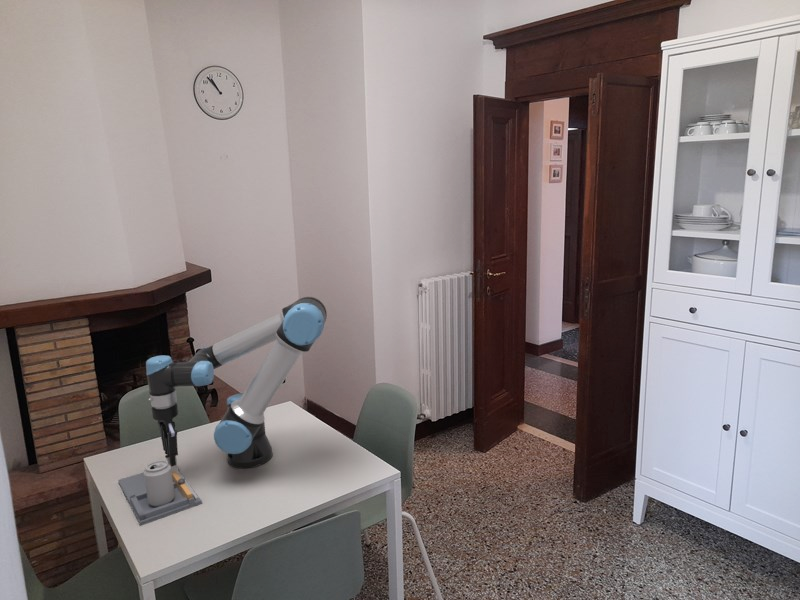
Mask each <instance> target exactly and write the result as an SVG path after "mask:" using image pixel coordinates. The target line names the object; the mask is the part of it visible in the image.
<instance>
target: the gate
mask: <svg viewBox="0 0 800 600" xmlns="http://www.w3.org/2000/svg"><path fill="white" fill-rule="evenodd" d="M172 478H173V481H174V482H175V483H176V486H177V487H178V488H179V490H180V491H181V493H182V494H183V496H184V497H185V498H187V500H188V499H190V498H192V497H193V495H192V492H191V491H190V490H189V488H188V487H187V486H186V484H185V479H186V478H185V479H183V478H182V479H181V478H180V476H179V475H178V474H177V472H174V473H172ZM188 502H189V501H188Z"/></svg>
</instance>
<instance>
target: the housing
mask: <svg viewBox="0 0 800 600" xmlns="http://www.w3.org/2000/svg"><path fill="white" fill-rule="evenodd" d="M177 474H178V475H179V476H180V478H181V479H182V478H183V479H185V484H186V486H187V487H188V488H189V490H190V491H191V492H192V495H193V497H192V498H190V499H188V500H187V498H185V497H184V496H183V494H182V493H181V491H180V490H179V488H178V487H177V486H176V483H175V482H174V481H173V485H174V493H175V497H174V499H173V500H172V501H171V502H170V503H168V504H165V505H162V506H160V507H155V506H152V505H150V504H149V503H148V499H147V492H146V485H145V478H144V471H143V472H140V473H136V474H134V475H131V476H130V475H129V476H126V477H123V478H120V479H118V484H119V486H120V488H121V491H122V492H123V493H124V497H125V498H126V500H127V502H128V504H129V506H130V508H131V510H132V512H133V514H134V516H135V518H136V519H137V522H138V523H139V525H140V527H141V526H143V525H146V524H149V523H152V522H154V521H158V520H159V519H163V518H166V517H168V516H171V515H174V514H177V513H180V512H183V511H185V510H188V509H190V508H193V507H196V506H199V505H202V504H203V502H202V499H201V497H199V495H198V494H197V492H196V491H195V490H194V489H193V487H192V486H191V485H190V483H189V482H188V481H187V479H186V478H185V477H184V475H183V474H182V472H181V471H180V470H179V469H178V473H177ZM188 501H189V502H188Z"/></svg>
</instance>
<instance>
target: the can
mask: <svg viewBox="0 0 800 600" xmlns="http://www.w3.org/2000/svg"><path fill="white" fill-rule="evenodd" d="M143 472H144V478H145V485H146V492H147V499H148V503H149V504H150V505H152V506H155V507H160V506H162V505H165V504H168V503H170V502H171V501H172V500H173V499H174V497H175V493H174V485H173V478H172V471H171V466H170V465H169V464H168V462H167V460H163V459H161V460H155V461H152V462H150V463H148V464H147V465H146V466H145V469H144V471H143Z"/></svg>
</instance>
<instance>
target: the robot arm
mask: <svg viewBox="0 0 800 600" xmlns="http://www.w3.org/2000/svg"><path fill="white" fill-rule="evenodd" d="M327 315H328V313H327V309H326V306H325V305H324V303H323V301H321V300H319V299H318V298H316V297H313V296H304V297H300V298H299V299H297V300H296V301H294V302H292V303H290V304H288V305H287V306H286V307H282V309H281V311H280V313H277V314H275V315H273V316H271V317H269V318H266V319H265V320H262V321H261V322H258V323H256V324H254V325H252V326H250V327H247V328H246V329H244V330H242V331H240V332H238V333H235V334H232V335H231V336H229V337H227V338H225V339H222V340H221V341H219V342H216V343H215V344H214V343H213V345H210V346H204V347H203V348H201V349H199V350H198V351H197V352H196V353H195V354H194V355H193V356H192V357H191V358H190V359H189V360H188V361H185V362H184V361H183V362H182V361H181V362H173V359H172V357H171V356H170V355H156V356H153V357H150V358H148V359H147V360H146V361H145V368H146V378H147V384H148V389H149V398H148V401H149V402H150V405H151V413H152V414H151V415H152V418H153V420H155V421H157V424H158V428H159V433H160V437H161V443H162V449H163V451H164V454H165V455H164V458H165V459H166V461H167V462H168V464H169V465H170V466H171V471H172V473H174V472H177V473H178V470H179V468H178V467H179V466H178V461H177V459H178V458H177V456H178V455H179V452H178V430H177V429H175V428H176V423H175V421H174V420H173V419H174V418H175V417H177V416H178V414H179V407H178V403H177V401H178V398H177V391H176V387H179V388H180V387H202V386H208V385H211V384H212V383H213V381H214V378H215V371H214V370H216V369H218V368H220V367H222V366H224V365H226V364H228V363H230V362H233V361H234V360H237V359H239V358H241V357H243V356H246V355H247V354H249V353H251V352H254V351H256V350H258V349H260V348H263V347H264V346H267V345H268V344H271V343H273V342H274V344H273V346H272V347H271V348H270V351H269V352H268V353H267V355H266V356H265V358H264V360H263V362H262V363H261V365H260V366H259V368H258V370H257V371H256V372H255V374H254V376H253V378H251V381H250V382H249V384H248V386H247V387H246V389H245V390H244V392H241V393H236V394H233V395H230V396H228V397H227V399H226V406H227V407H226V408H227V410H226V412H225V414H224V415H223V417H222V418H221V420H220V421H219V423H218V424H217V425H216V426H215V428H214V432H213V439H214V442H215V445H216V447H218V448H219V450H221V451H222V452H224V453H226V454H227V463H228V465H229V466H231V467H233V468H239V469H247V468H248V469H249V468H253V467H257V466H261V465H263V464H265V463H267V462H268V461H270V460H271V459H272V457H273V454H274V453H273V448H272V444H271V443H270V440H269V439H268V437H267V434H266V426H265V420H266V419H265V411H266V410H267V408H268V407H269V405H270V404H271V402H272V400H273V399H274V397H275V395H276V394H277V392H278V391H279V389H280V388H281V387H282V384H283V383H284V381H285V380H286V378H287V377H288V375H289V374H290V372H291V370H292V369H293V368H294V366H295V364H296V362H297V361H298V359H299V358H300V356H301V354H305V353H308V352H309V351H310V349H311V348H312V346H313V345H314V343H315V342H316V341H317V339H319V338H320V336H322V333H323V331H324V326H325V323H326V321H327Z"/></svg>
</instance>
